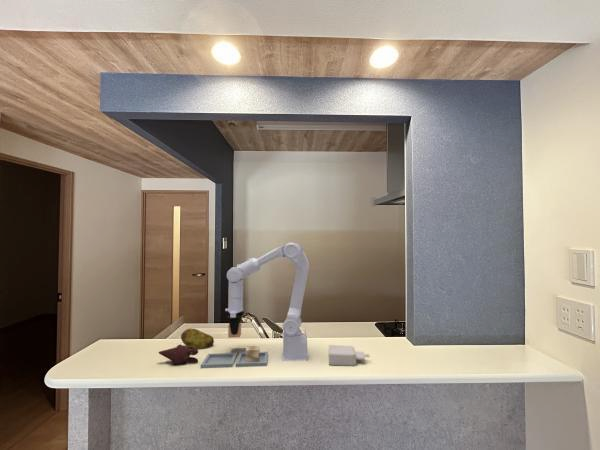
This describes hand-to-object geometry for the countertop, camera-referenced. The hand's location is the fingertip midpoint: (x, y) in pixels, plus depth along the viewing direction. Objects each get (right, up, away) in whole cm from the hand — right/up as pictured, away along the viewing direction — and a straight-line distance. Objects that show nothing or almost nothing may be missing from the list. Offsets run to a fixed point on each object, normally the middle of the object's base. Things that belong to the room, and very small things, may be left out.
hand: (235, 332), depth 114 cm
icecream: (-19, -8, -9) cm, 22 cm away
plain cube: (+8, -8, -7) cm, 13 cm away
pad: (+1, -9, +2) cm, 9 cm away
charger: (+44, -8, -8) cm, 45 cm away
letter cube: (0, -1, 0) cm, 1 cm away
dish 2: (+8, -8, -7) cm, 14 cm away
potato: (-18, -10, +8) cm, 22 cm away
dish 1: (-4, -8, -8) cm, 12 cm away
